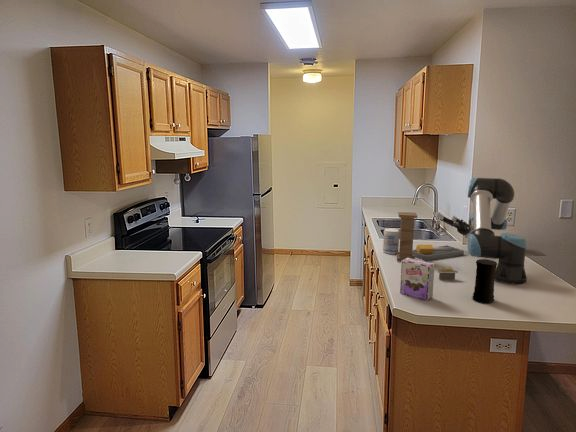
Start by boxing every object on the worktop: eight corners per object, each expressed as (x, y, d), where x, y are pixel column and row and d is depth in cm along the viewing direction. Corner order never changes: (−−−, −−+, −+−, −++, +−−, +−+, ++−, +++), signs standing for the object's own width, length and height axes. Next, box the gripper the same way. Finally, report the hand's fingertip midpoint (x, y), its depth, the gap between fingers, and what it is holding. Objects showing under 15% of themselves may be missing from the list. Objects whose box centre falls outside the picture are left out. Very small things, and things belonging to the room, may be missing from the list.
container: (487, 296, 192) (491, 258, 188) (498, 303, 183) (501, 264, 180) (468, 296, 191) (471, 258, 188) (478, 304, 183) (481, 264, 179)
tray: (425, 261, 246) (425, 256, 246) (409, 255, 259) (410, 250, 258) (463, 255, 258) (464, 250, 257) (446, 249, 270) (447, 245, 270)
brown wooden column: (414, 262, 243) (417, 215, 238) (397, 261, 245) (399, 215, 240) (413, 257, 253) (415, 212, 248) (396, 257, 255) (398, 212, 250)
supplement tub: (387, 255, 259) (388, 232, 256) (380, 251, 268) (381, 228, 265) (401, 253, 262) (402, 231, 259) (393, 249, 271) (394, 227, 268)
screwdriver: (420, 248, 254) (417, 244, 257) (418, 253, 256) (415, 249, 259) (453, 248, 260) (450, 244, 264) (451, 253, 263) (448, 249, 266)
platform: (425, 275, 221) (426, 264, 220) (460, 276, 220) (460, 264, 219) (431, 283, 209) (432, 271, 208) (468, 284, 208) (469, 271, 207)
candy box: (399, 293, 196) (401, 259, 193) (405, 290, 200) (407, 257, 197) (426, 301, 186) (429, 265, 183) (433, 297, 190) (435, 263, 187)
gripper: (478, 239, 253) (456, 224, 244) (448, 231, 275) (427, 217, 266) (484, 228, 253) (462, 213, 244) (453, 221, 276) (432, 207, 266)
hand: (444, 215), depth 255 cm, fingers open, 12 cm apart
